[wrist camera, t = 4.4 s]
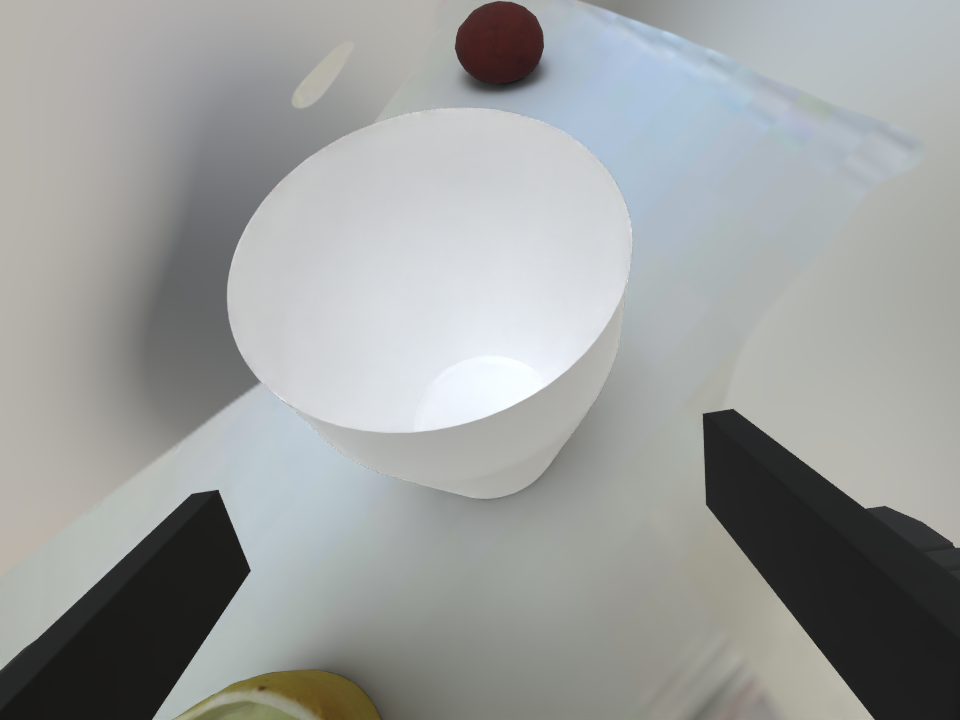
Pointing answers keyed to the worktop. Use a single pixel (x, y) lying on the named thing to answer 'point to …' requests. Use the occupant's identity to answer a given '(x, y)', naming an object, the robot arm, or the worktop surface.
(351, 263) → the cup
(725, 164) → the worktop surface
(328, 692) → the mug
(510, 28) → the dark red rounded lump
